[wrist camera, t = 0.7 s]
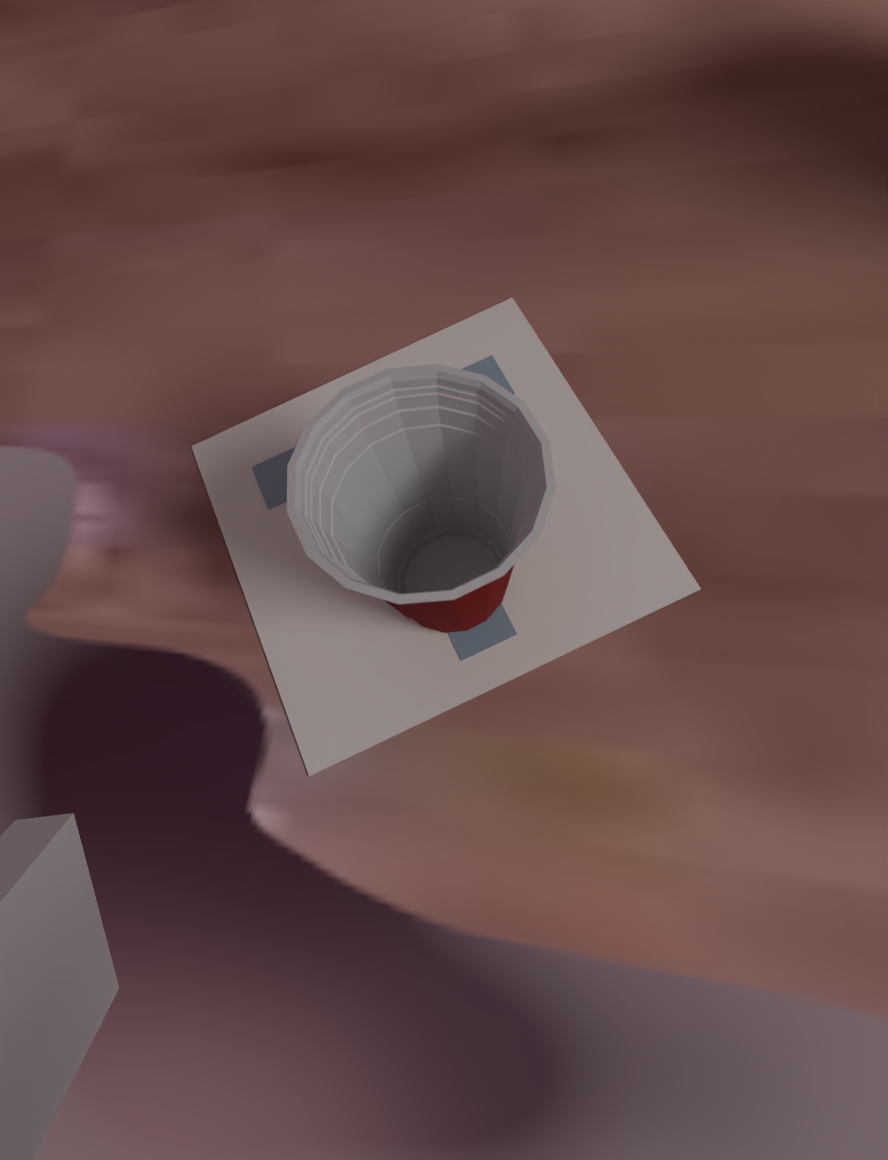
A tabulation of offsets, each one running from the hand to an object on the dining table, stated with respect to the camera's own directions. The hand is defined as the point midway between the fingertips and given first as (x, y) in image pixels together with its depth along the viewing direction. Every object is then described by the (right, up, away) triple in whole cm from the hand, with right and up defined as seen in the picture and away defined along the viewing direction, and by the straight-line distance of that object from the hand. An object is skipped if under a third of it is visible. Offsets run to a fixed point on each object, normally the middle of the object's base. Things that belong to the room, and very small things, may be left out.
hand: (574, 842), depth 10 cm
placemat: (-3, +7, +33) cm, 34 cm away
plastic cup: (-1, +3, +31) cm, 31 cm away
